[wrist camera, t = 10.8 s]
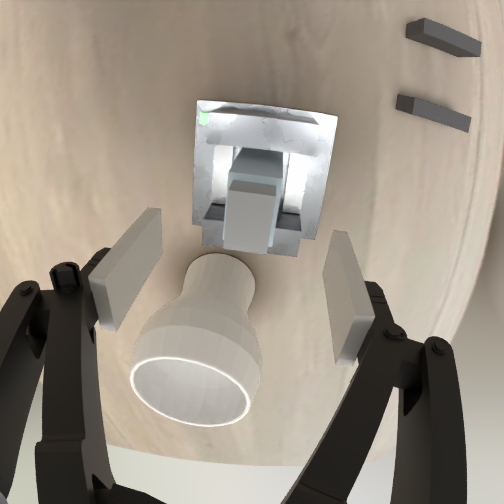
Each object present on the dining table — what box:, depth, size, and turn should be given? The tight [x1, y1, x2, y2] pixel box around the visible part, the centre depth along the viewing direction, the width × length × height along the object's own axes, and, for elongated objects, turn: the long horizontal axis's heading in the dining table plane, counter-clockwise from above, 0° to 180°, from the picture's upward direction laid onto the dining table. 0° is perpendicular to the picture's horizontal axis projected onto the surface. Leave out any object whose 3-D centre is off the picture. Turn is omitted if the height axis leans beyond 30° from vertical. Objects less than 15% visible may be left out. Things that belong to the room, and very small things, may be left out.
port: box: [192, 100, 338, 257], centre depth 26 cm, size 12×12×5 cm
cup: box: [130, 253, 262, 427], centre depth 29 cm, size 11×11×15 cm
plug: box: [223, 147, 283, 255], centre depth 24 cm, size 5×4×10 cm
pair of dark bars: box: [396, 18, 482, 133], centre depth 20 cm, size 8×6×4 cm, turn 174°
